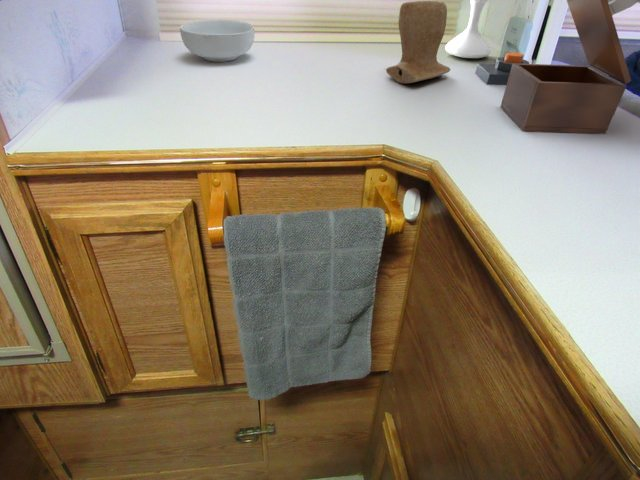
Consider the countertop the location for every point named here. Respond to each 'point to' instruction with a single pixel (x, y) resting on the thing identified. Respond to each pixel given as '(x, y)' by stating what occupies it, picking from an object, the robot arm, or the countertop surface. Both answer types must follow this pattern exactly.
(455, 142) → the countertop surface
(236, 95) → the countertop surface
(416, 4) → the brown flared post
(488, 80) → the button block
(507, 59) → the button
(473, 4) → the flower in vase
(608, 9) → the lid
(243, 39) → the cereal bowl
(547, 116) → the chest
